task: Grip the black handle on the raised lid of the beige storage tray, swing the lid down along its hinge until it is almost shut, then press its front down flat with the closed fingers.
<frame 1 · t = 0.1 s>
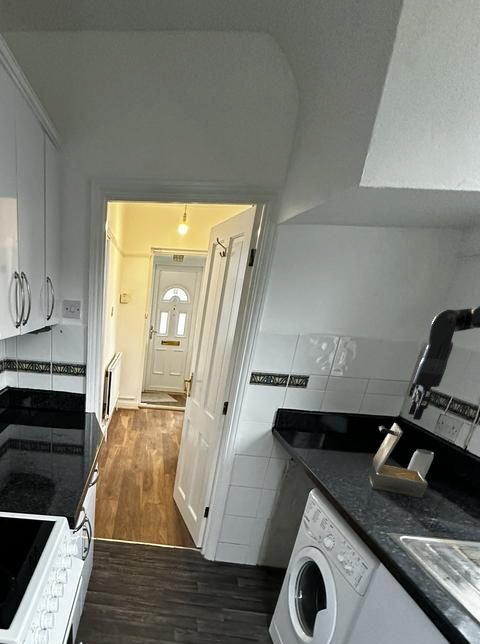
hand: (413, 416, 150), 28 cm above the counter, tool pointing down, fingers open, 8 cm apart
beige storage tray: (393, 486, 161), on the counter
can: (413, 479, 170), on the counter
lid: (379, 445, 158), point 15 cm above the counter, hinge at 80.0°
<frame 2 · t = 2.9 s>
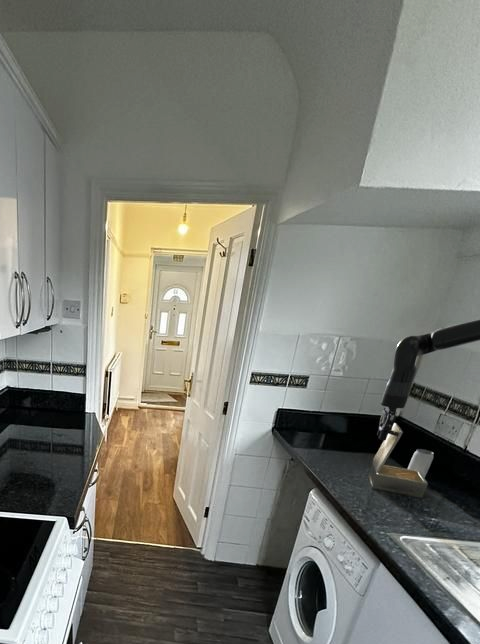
hand: (381, 437, 157), 18 cm above the counter, tool pointing down, fingers closed on lid, 5 cm apart
lid: (379, 445, 158), point 15 cm above the counter, hinge at 80.0°, touching gripper
everything else where it was.
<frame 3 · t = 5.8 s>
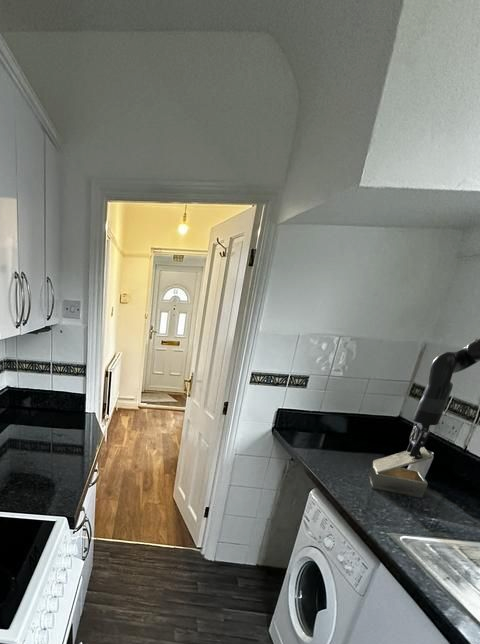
hand: (411, 453, 155), 14 cm above the counter, tool pointing down, fingers closed on lid, 5 cm apart
lid: (398, 454, 156), point 13 cm above the counter, hinge at 33.5°, touching gripper
everything else where it was.
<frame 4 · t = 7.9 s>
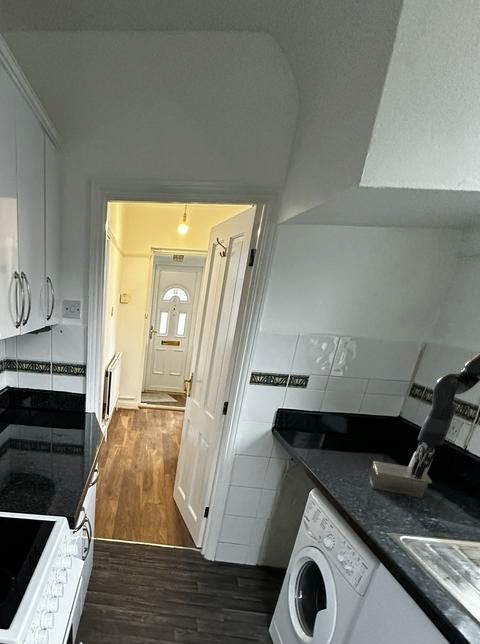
hand: (416, 472, 156), 7 cm above the counter, tool pointing down, fingers closed on lid, 5 cm apart
lid: (402, 465, 157), point 9 cm above the counter, hinge at 0.5°, touching gripper
everything else where it was.
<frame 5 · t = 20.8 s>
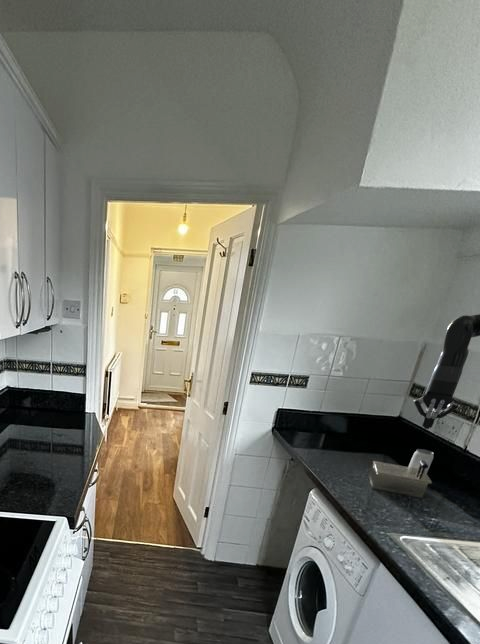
hand: (425, 428, 147), 25 cm above the counter, tool pointing down, fingers closed
lid: (402, 466, 157), point 9 cm above the counter, hinge at -0.1°
everything else where it was.
at the end: lid at +0° (first picture: +80°) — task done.
